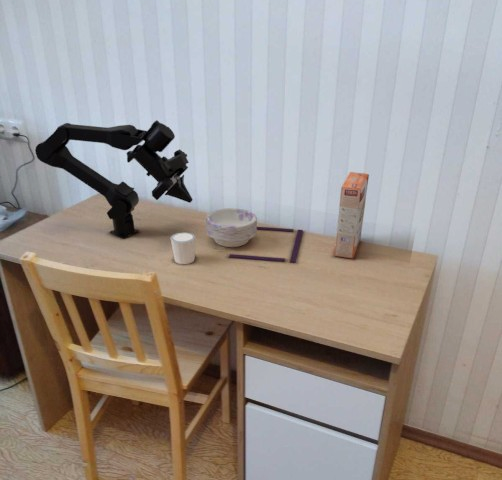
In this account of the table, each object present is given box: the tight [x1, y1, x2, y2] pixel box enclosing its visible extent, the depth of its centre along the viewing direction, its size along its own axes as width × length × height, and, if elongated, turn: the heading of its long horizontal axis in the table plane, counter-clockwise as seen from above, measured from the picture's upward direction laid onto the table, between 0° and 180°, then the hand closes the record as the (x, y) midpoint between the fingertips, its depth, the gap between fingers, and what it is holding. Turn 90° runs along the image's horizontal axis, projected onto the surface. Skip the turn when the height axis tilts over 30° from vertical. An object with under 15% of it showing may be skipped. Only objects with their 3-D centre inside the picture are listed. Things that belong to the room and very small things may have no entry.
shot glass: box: [170, 232, 196, 265], centre depth 150 cm, size 7×7×7 cm
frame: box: [228, 226, 304, 264], centre depth 160 cm, size 19×22×1 cm
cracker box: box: [333, 171, 370, 259], centre depth 152 cm, size 14×6×21 cm, turn 161°
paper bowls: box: [205, 207, 258, 248], centre depth 160 cm, size 15×15×8 cm
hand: (191, 201), depth 158 cm, fingers closed
